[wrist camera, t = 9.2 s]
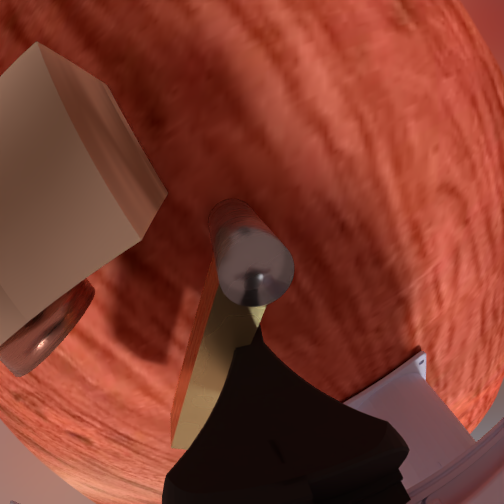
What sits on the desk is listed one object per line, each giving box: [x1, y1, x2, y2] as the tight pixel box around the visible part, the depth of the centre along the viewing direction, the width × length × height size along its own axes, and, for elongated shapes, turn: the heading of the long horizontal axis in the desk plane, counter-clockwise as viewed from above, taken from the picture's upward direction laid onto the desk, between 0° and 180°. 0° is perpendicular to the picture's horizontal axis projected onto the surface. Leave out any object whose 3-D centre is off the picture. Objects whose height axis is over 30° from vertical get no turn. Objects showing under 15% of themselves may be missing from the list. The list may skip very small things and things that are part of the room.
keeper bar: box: [171, 199, 294, 450], centre depth 10 cm, size 10×2×5 cm, turn 161°
